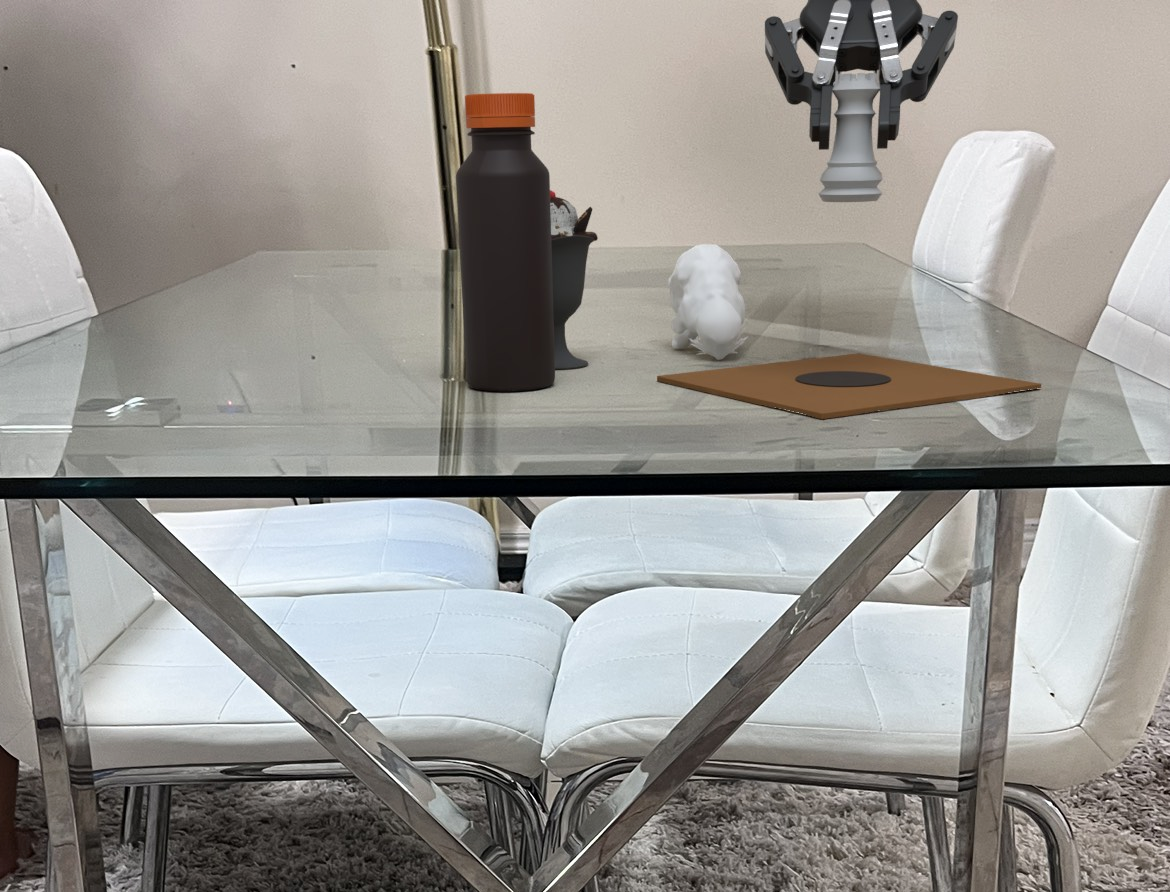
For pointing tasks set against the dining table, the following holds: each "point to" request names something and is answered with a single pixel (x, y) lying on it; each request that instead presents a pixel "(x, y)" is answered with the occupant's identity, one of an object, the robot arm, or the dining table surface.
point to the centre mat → (845, 384)
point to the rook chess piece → (853, 143)
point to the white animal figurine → (707, 301)
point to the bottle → (505, 248)
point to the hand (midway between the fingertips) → (853, 139)
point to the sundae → (567, 271)
